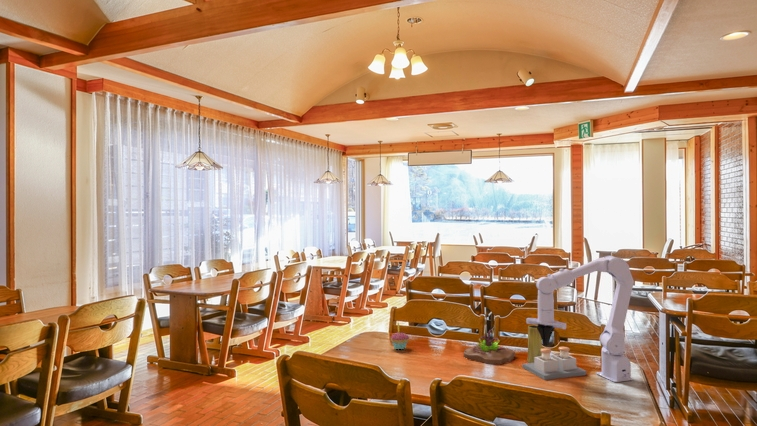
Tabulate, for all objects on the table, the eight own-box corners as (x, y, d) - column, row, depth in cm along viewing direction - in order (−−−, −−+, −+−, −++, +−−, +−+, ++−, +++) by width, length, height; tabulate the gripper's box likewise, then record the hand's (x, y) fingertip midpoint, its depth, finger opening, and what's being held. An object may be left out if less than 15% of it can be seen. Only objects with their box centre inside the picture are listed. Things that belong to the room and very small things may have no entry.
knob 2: (571, 361, 174) (571, 348, 174) (563, 362, 173) (563, 349, 173) (565, 358, 177) (565, 346, 177) (556, 359, 176) (556, 347, 176)
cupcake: (387, 347, 208) (387, 321, 208) (403, 345, 212) (403, 319, 212) (396, 352, 200) (395, 325, 200) (413, 350, 204) (412, 323, 204)
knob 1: (553, 363, 171) (553, 350, 171) (544, 364, 170) (544, 351, 170) (547, 360, 175) (547, 347, 175) (538, 361, 174) (538, 348, 174)
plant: (522, 356, 194) (522, 330, 194) (499, 368, 180) (499, 339, 180) (481, 347, 208) (480, 322, 208) (456, 357, 194) (456, 330, 194)
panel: (586, 375, 170) (586, 360, 170) (544, 379, 166) (544, 364, 166) (562, 363, 184) (561, 349, 184) (522, 367, 179) (522, 353, 179)
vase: (525, 362, 185) (525, 327, 185) (528, 358, 190) (528, 324, 191) (541, 364, 182) (541, 329, 182) (544, 360, 188) (543, 325, 188)
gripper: (569, 309, 171) (569, 346, 171) (531, 305, 181) (531, 339, 181) (562, 313, 166) (562, 350, 166) (523, 308, 175) (524, 343, 175)
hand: (546, 345), depth 173 cm, fingers closed
